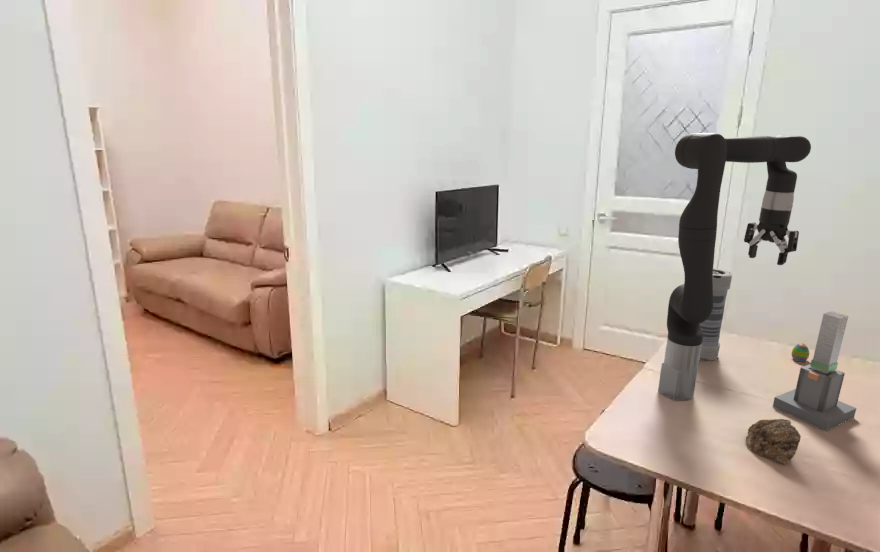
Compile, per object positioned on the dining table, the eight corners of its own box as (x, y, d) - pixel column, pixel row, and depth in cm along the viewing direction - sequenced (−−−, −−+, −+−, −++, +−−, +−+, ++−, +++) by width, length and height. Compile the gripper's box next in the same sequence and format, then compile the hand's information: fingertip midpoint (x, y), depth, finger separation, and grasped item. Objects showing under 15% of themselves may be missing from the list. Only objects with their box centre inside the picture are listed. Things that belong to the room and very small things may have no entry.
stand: (825, 431, 140) (836, 387, 136) (772, 406, 152) (781, 365, 148) (853, 417, 147) (865, 375, 143) (801, 394, 158) (810, 355, 154)
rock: (784, 441, 138) (741, 432, 142) (791, 410, 136) (746, 402, 140) (797, 470, 125) (749, 460, 128) (804, 437, 123) (755, 427, 127)
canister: (720, 362, 178) (735, 277, 170) (687, 358, 181) (700, 274, 172) (715, 350, 188) (729, 269, 179) (684, 346, 190) (696, 266, 182)
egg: (806, 358, 182) (809, 342, 180) (808, 364, 178) (812, 347, 176) (789, 355, 184) (792, 339, 182) (791, 361, 180) (795, 345, 178)
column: (823, 387, 144) (840, 319, 138) (806, 380, 147) (822, 313, 141) (832, 384, 146) (849, 316, 140) (815, 377, 149) (831, 310, 143)
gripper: (744, 204, 158) (735, 257, 162) (794, 212, 146) (782, 268, 150) (760, 202, 161) (751, 254, 166) (810, 210, 149) (798, 265, 154)
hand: (766, 261), depth 158 cm, fingers open, 8 cm apart
